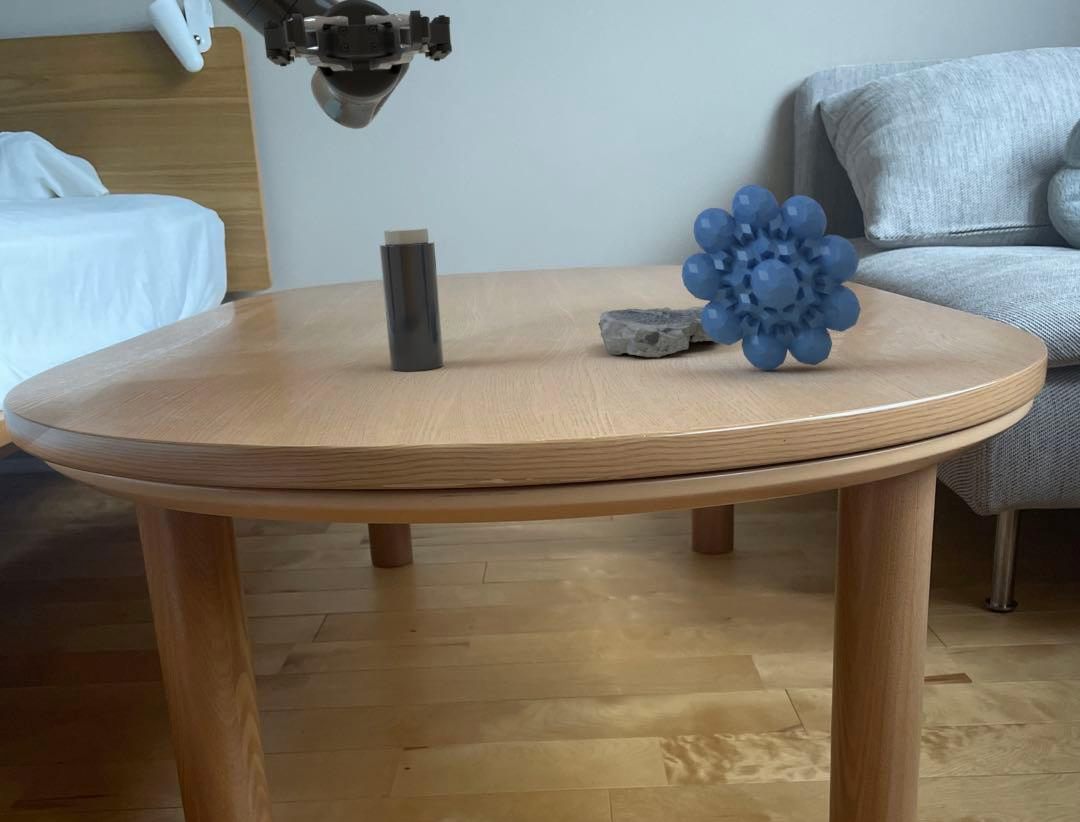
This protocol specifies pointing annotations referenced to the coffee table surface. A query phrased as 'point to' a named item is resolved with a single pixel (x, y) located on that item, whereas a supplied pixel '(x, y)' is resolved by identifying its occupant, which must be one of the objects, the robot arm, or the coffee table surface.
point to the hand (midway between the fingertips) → (358, 27)
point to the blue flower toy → (772, 278)
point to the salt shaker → (411, 300)
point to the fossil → (651, 330)
